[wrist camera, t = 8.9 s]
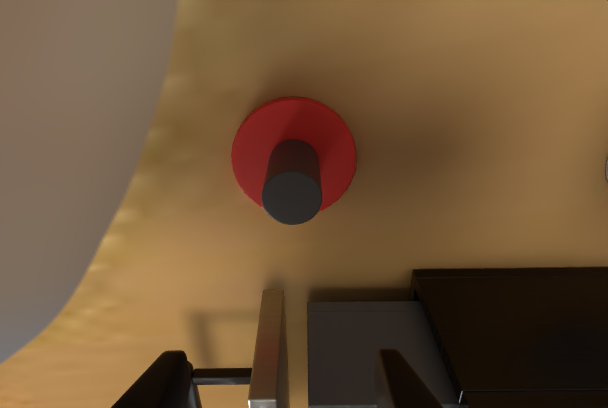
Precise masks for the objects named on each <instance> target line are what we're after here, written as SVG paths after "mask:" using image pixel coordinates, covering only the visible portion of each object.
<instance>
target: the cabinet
mask: <svg viewBox="0 0 608 408" xmlns="http://www.w3.org/2000/svg"><path fill="white" fill-rule="evenodd" d="M409 301H420V303H421V306H422V308H423V311H424V313H425V316H426V319H427V321H428V324H429V326H430V329H431V332H432V334H433V337H434V339H435V342H436V345H437V347H438V350H439V352H440V355H441V358H442V360H443V363H444V365H445V368H446V371H447V373H448V376H449V378H450V381H451V384H452V386H453V389H454V391H455V394H456V397H457V399H458V402H459V403H460V404H459V407H458V408H608V268H520V269H429V270H413V275H412V281H411V288H410V294H409Z"/></svg>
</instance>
